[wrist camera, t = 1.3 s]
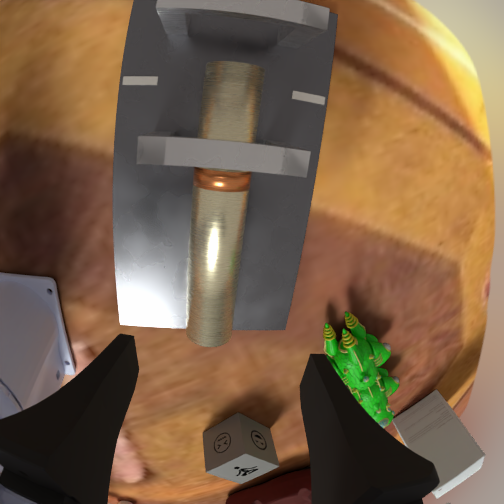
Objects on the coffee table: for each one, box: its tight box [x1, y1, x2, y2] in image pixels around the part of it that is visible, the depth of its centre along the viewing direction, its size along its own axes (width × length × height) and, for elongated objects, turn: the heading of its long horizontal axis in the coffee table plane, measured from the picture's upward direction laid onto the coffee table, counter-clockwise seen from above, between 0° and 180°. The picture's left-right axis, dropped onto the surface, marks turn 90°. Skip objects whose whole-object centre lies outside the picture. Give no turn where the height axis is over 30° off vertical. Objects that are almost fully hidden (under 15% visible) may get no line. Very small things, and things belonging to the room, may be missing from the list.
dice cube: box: [203, 412, 279, 484], centre depth 27 cm, size 5×5×5 cm
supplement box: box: [392, 389, 485, 498], centre depth 30 cm, size 7×7×13 cm
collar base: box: [113, 0, 338, 330], centre depth 16 cm, size 22×12×6 cm, turn 173°
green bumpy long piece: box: [323, 312, 399, 428], centre depth 27 cm, size 7×18×4 cm, turn 28°
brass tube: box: [186, 61, 265, 347], centre depth 17 cm, size 16×3×3 cm, turn 173°
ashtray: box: [226, 466, 312, 504], centre depth 36 cm, size 18×16×5 cm
